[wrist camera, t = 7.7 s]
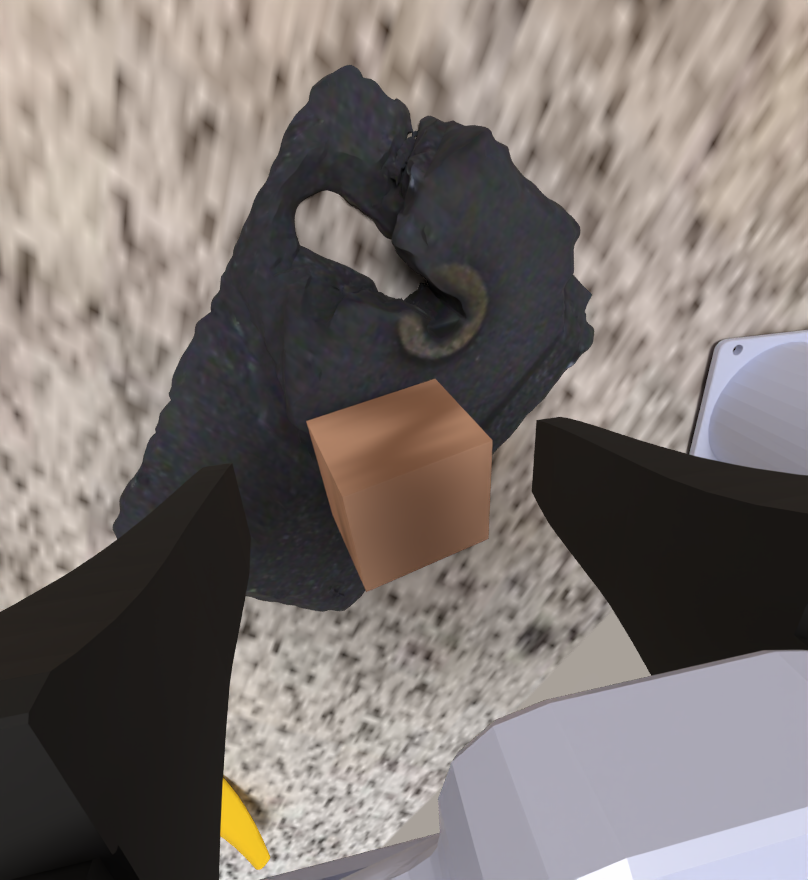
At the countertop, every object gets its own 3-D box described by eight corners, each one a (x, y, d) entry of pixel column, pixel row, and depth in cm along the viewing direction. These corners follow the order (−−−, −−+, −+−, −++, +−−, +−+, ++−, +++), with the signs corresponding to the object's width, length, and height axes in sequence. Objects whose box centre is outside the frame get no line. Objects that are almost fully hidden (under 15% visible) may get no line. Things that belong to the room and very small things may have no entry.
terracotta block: (435, 378, 18) (492, 440, 15) (440, 473, 21) (488, 538, 19) (306, 421, 17) (342, 497, 14) (332, 514, 20) (366, 592, 17)
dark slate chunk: (63, 498, 22) (7, 569, 17) (354, 23, 16) (373, -39, 12) (345, 617, 28) (353, 691, 24) (621, 300, 23) (695, 323, 18)
